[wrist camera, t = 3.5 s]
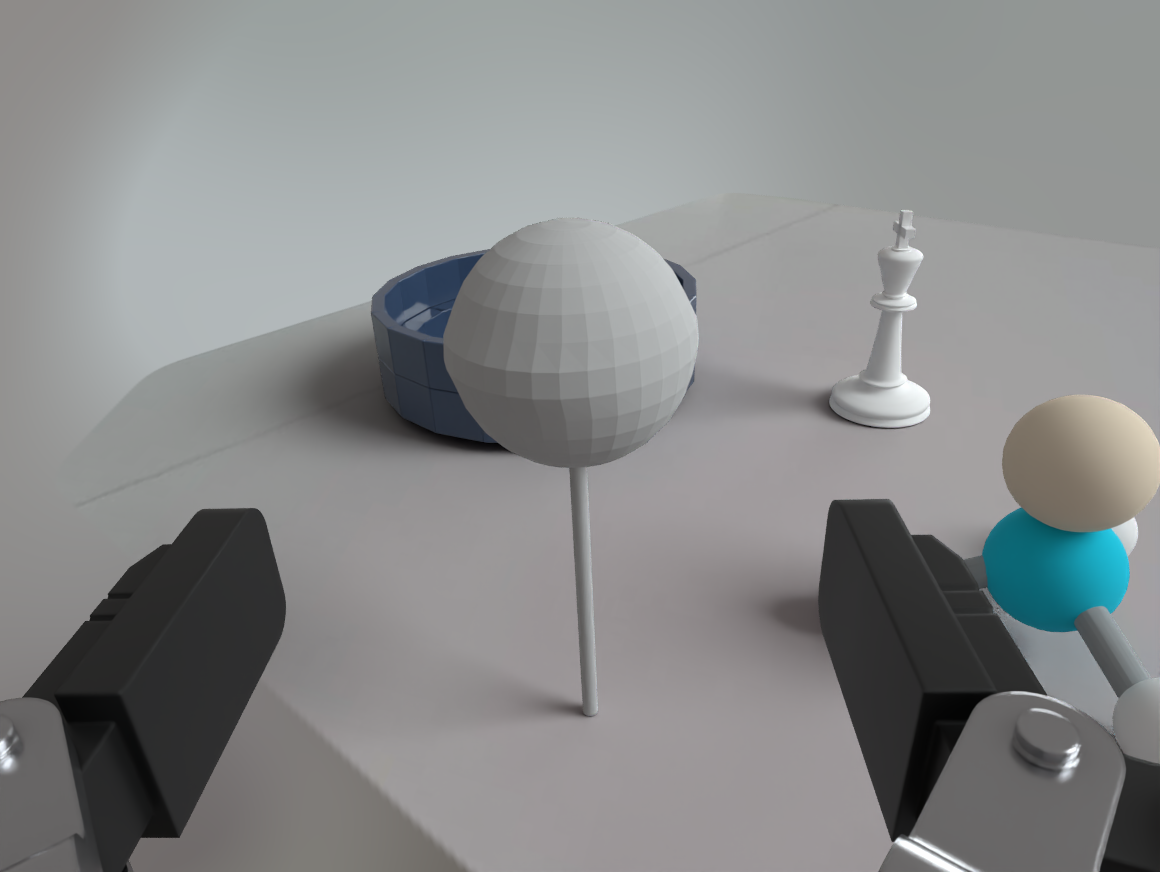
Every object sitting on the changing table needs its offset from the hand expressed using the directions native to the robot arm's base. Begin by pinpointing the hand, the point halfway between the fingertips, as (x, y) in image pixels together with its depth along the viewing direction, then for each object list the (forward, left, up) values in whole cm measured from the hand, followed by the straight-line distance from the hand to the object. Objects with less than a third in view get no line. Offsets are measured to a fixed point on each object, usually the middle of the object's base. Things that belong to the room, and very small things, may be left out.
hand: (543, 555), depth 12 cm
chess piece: (+28, +18, -13) cm, 35 cm away
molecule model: (+18, +3, -13) cm, 22 cm away
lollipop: (+5, +8, -13) cm, 15 cm away
